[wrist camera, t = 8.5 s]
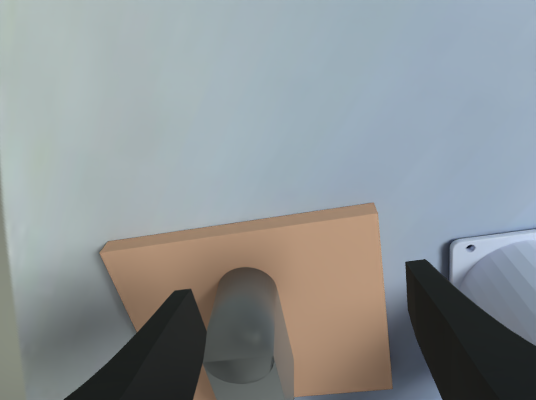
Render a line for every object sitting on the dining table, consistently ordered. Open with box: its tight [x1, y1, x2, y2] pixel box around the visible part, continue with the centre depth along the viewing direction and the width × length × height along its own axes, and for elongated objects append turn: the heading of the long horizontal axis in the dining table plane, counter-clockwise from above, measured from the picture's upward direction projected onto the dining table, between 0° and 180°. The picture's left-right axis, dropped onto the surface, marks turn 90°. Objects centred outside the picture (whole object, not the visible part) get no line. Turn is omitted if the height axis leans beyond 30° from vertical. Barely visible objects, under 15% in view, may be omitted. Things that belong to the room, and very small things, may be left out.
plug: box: [203, 267, 294, 400], centre depth 23 cm, size 4×11×5 cm, turn 11°
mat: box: [100, 203, 393, 400], centre depth 25 cm, size 16×14×1 cm
